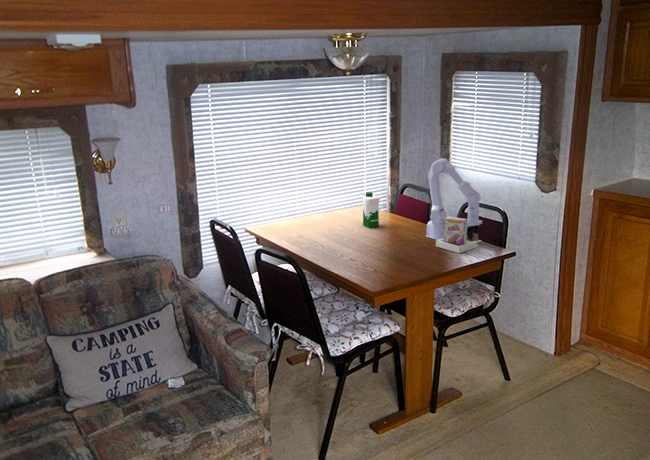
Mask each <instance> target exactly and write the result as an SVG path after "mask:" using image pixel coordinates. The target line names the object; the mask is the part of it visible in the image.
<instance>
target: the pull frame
mask: <svg viewBox="0 0 650 460" xmlns="http://www.w3.org/2000/svg"><path fill="white" fill-rule="evenodd" d="M443 241H444V238H443V239H440V240H436V239H435V247H436V248H441V249H444V250H447V251H450V252H455V253H456V254H457V253H458V254H460V253H463V252H466V251H469V250H472V249H474V248H478V247H479V244H478V243H481V242H482V240H480V239H479V233H477V234H476V233H473V238H472V240H469V239H468V236H467V237H466V244H464V245H461V246H457V245H453V244H449V243H446V242H443Z"/></svg>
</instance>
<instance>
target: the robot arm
mask: <svg viewBox="0 0 650 460" xmlns="http://www.w3.org/2000/svg"><path fill="white" fill-rule="evenodd" d="M427 174H428V175H427V178H428V184H429V193H430V199H431V205H432V206H431V210H430V220H429V221H428V222H427V224H426V235H425V237H426V238H430V239H433V240H435V241H436V240H440V239H443V238H444V220H445V218H446V217H447V211H446V209H445V207H444V206H443V203H442V195H441V189H440V188H441V187H440V181H439V176H440V175H441V174H445V175H448V176H450V177H451V178H452V180H453V181H455V183H456V184H457V185H458V190H459V191H460V192H461V193H462V195H464V197H465V198H466V202H467V203H468V206H467V219H468V221H467V236H468V239H469V240H472V238H473V233H476V234H478V232H479V230H480V228H481V225H482V224H483V220H481V219H479V218H480V217H479V213H480V201H481V199H482V196H481V194H480V192H478V191H477V190H476V189H474V188H473V187H472V186H471V182H468V181H465V180H464V179H463V178H462V176H460V175H459V173H458V171H457V170H456V168H454V166H453V165H452V163H451V162H449V160H448V159H447V158H445V157H442V158H440V159H438V160H435V161H433V163H432V164H431V165H430V169H429V171H428V173H427Z"/></svg>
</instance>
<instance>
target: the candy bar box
mask: <svg viewBox="0 0 650 460" xmlns="http://www.w3.org/2000/svg"><path fill="white" fill-rule="evenodd" d="M467 221H468V218H461V217H453V216H446V217H445V218H444V241H443V242H446V243H449V244H453V245H457V246H461V245H464V244H466V237H467Z"/></svg>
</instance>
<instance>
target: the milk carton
mask: <svg viewBox="0 0 650 460" xmlns="http://www.w3.org/2000/svg"><path fill="white" fill-rule="evenodd" d="M380 199H381V197H380V196H378V195H374V194H373V192H371V191H367V192H365V195H363V196H362V203H363V205H362V206H363V207H362V209H363V210H362V216H363V218H362V226H363V225H364V227H366V228H368V229H373V228H377V226H379V227H380V219H379V211H380V210H379V208H380V207H379V206H380ZM372 227H373V228H372Z"/></svg>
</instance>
